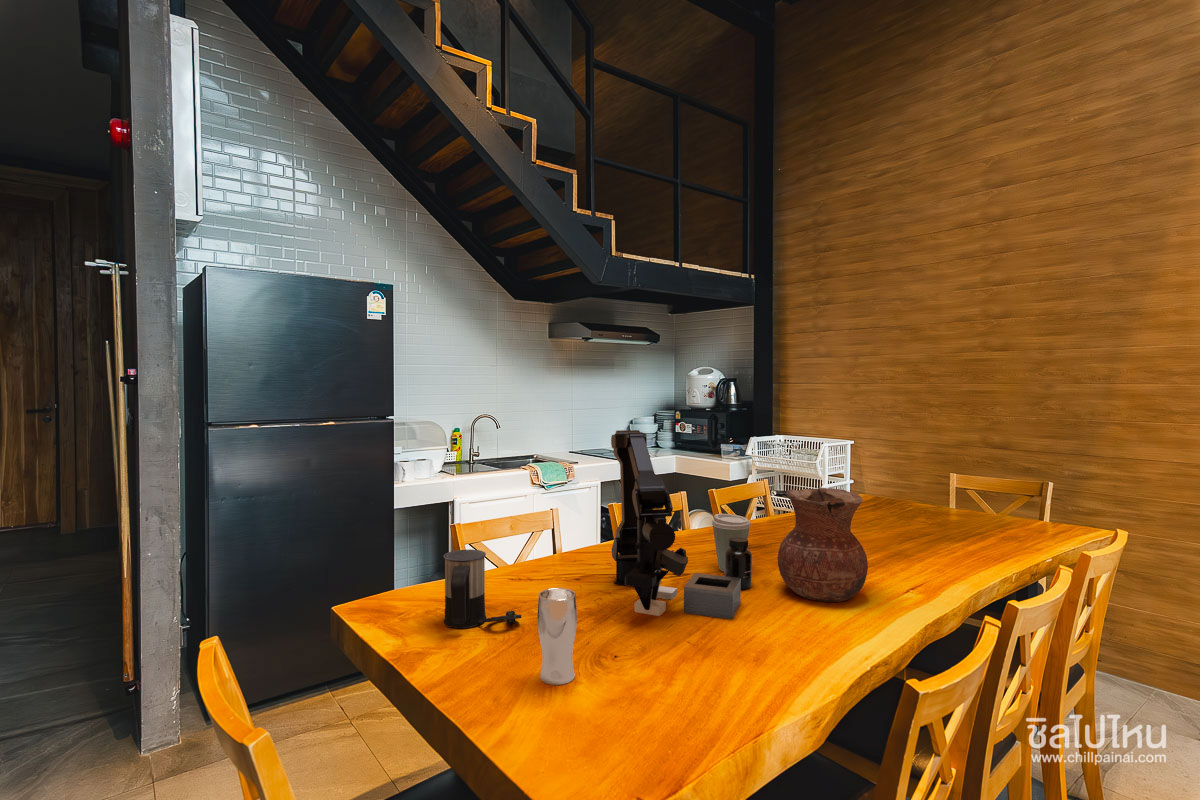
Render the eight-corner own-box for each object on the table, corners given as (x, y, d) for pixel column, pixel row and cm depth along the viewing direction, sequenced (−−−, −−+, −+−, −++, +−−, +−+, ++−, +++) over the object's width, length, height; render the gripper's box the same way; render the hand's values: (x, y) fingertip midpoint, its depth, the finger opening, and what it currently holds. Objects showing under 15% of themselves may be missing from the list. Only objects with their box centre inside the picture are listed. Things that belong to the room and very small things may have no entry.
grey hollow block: (683, 612, 144) (683, 586, 144) (694, 597, 154) (694, 572, 154) (732, 619, 140) (732, 592, 140) (740, 603, 150) (740, 578, 150)
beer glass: (538, 669, 116) (537, 587, 116) (576, 667, 117) (575, 586, 116) (537, 687, 109) (537, 601, 109) (578, 685, 110) (577, 599, 109)
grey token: (648, 598, 155) (648, 590, 155) (654, 593, 159) (654, 585, 159) (672, 601, 153) (672, 593, 152) (677, 596, 156) (677, 588, 156)
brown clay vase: (876, 612, 145) (877, 502, 144) (780, 605, 149) (781, 499, 148) (857, 581, 166) (858, 486, 165) (774, 576, 170) (775, 483, 170)
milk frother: (441, 616, 142) (440, 550, 142) (510, 607, 148) (510, 544, 147) (449, 641, 129) (448, 568, 128) (525, 630, 134) (525, 560, 134)
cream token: (634, 611, 145) (634, 603, 145) (641, 606, 148) (641, 597, 148) (659, 616, 142) (659, 607, 142) (665, 610, 146) (665, 601, 146)
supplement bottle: (752, 591, 159) (752, 543, 158) (724, 589, 160) (724, 542, 160) (751, 582, 166) (751, 536, 165) (724, 581, 167) (724, 535, 166)
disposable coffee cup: (747, 564, 181) (748, 512, 181) (753, 576, 171) (753, 521, 170) (710, 563, 182) (710, 511, 182) (713, 575, 172) (713, 520, 171)
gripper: (674, 552, 133) (674, 626, 134) (694, 532, 151) (693, 597, 151) (623, 547, 137) (623, 619, 138) (649, 528, 155) (648, 592, 155)
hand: (650, 606), depth 145 cm, fingers closed on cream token, 4 cm apart
